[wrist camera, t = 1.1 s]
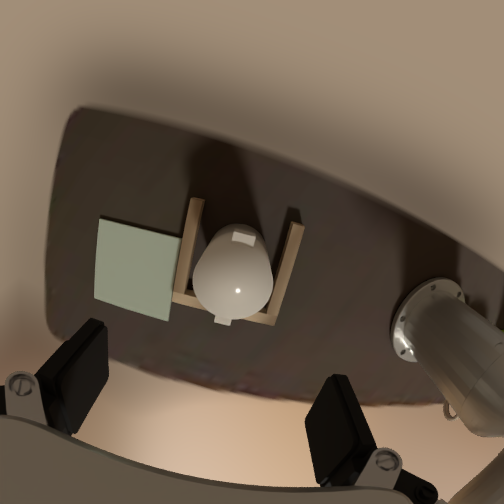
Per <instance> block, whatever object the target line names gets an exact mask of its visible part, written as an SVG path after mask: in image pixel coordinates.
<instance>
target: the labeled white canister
mask: <svg viewBox="0 0 504 504" xmlns="http://www.w3.org/2000/svg"><path fill="white" fill-rule="evenodd" d="M193 288H194V292H195V295H196V297H197V299H198V300H199V302H200V303H201V304H202V306H203V307H204V308H205V309H207V310H208V311H209V312H211V313H212V314H214V315H216V316H215V320H214V322H216V323H220V324H224V325H229V326H230V323H231V320H232V319H242V318H246V317H249V316H251V315H253V314H255V313H257V312H258V311H259V310H261V309H262V308H263V307H264V306H265V304H266V303H267V302H268V300H269V298H270V296H271V293H272V289H273V277H272V272H271V267H270V262H269V258H268V253H267V248H266V244H265V241H264V239H263V237H262V236H261V234H260V233H259V232H258V231H257V230H256V229H254V228H252V227H251V226H248V225H245V224H238V223H236V224H230V225H227V226H225V227H223V228H221V229H220V230H219V231H218V232H216V234H215V235H214V236H213V238H212V240H211V241H210V243H209V245H208V246H207V248H206V250H205V251H204V253H203V255H202V256H201V258H200V260H199V261H198V263H197V265H196V267H195V270H194V273H193Z"/></svg>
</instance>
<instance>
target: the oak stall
mask: <svg viewBox="0 0 504 504" xmlns="http://www.w3.org/2000/svg"><path fill="white" fill-rule="evenodd" d="M204 203H205V200H204V199H200V198H195V197H193V198H191V200H190V204H189V209H188V214H187V219H186V223H185V228H184V233H183V238H182V244H181V249H180V254H179V260H178V266H177V271H176V277H175V283H174V289H173V296H172V302H176V303H180V304H183V305H187V306H191V307H195V308H199V309H203V310H207V309H205V308H204V307H203V306H202V304H201V303H200V302H199V300H198V299H197V297H196V295H195V292H194V291H193V290H189V289H187V285H188V280H189V274H190V269H191V264H192V259H193V254H194V249H195V244H196V239H197V234H198V230H199V225H200V220H201V216H202V211H203V207H204ZM304 228H305V226H304V225H303V224H300V223H296V222H292V221H291V224H290V227H289V231H288V234H287V238H286V241H285V245H284V248H283V252H282V255H281V259H280V262H279V265H278V269H277V272H276V276H275V279H274V282H273V289H272V293H271V296H270V298H269V300H268V302H267V305H266V308H264V307H263V308H262V309H261V310H259V311H258V312H257V313H255V314H253V315H251V316H249V317H246V318H242V319H245V320H250V321H254V322H259V323H264V324H268V325H273V326H274V324H275V321H276V318H277V315H278V312H279V309H280V306H281V303H282V300H283V297H284V294H285V291H286V287H287V284H288V281H289V278H290V275H291V272H292V268H293V265H294V262H295V258H296V255H297V252H298V249H299V245H300V242H301V238H302V235H303V232H304ZM207 311H208V310H207Z"/></svg>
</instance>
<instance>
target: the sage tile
mask: <svg viewBox="0 0 504 504" xmlns="http://www.w3.org/2000/svg"><path fill="white" fill-rule="evenodd" d="M181 243H182V238H179V237H174V236H170V235H166V234H162V233H158V232H154V231H150V230H146V229H142V228H138V227H134V226H130V225H126V224H122V223H118V222H114V221H110V220H106V219H102V218H101V219H100V220H99V229H98V239H97V250H96V265H95V288H94V298H96V299H99V300H102V301H104V302H107V303H110V304H113V305H116V306H119V307H123V308H126V309H129V310H132V311H135V312H138V313H142V314H145V315H148V316H152V317H155V318H159V319H162V320H166V321H168V320H169V315H170V308H171V302H172V295H173V289H174V283H175V276H176V271H177V265H178V259H179V254H180V248H181Z"/></svg>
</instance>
